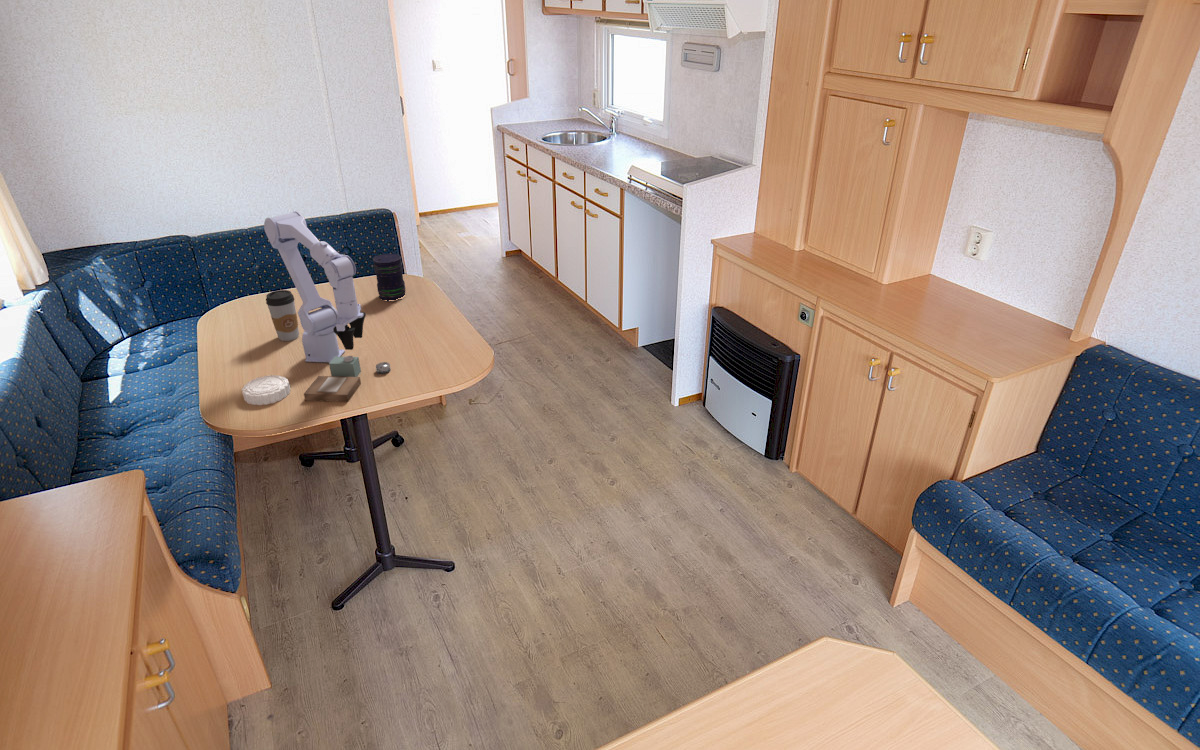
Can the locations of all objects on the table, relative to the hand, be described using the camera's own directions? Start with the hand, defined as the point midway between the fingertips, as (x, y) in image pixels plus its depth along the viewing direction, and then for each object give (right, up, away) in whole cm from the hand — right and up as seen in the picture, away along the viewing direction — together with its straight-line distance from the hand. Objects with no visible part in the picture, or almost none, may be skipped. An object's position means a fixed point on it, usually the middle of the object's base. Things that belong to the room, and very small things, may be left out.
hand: (353, 343), depth 198 cm
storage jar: (-6, +20, +56) cm, 59 cm away
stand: (-4, -14, -6) cm, 15 cm away
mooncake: (-22, -15, -7) cm, 27 cm away
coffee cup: (-30, +3, +25) cm, 39 cm away
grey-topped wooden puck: (+7, -8, +5) cm, 12 cm away
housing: (-3, -9, +3) cm, 10 cm away
